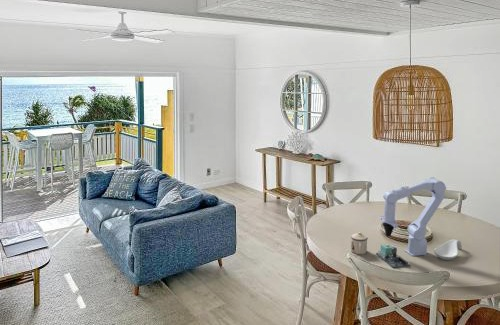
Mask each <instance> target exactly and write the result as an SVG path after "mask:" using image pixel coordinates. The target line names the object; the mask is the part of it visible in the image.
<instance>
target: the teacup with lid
mask: <svg viewBox="0 0 500 325" xmlns="http://www.w3.org/2000/svg"><path fill="white" fill-rule="evenodd" d="M350 238H351V242H350V243H351V245H350V251H351V253H352V254H356V255H365V254H366V253H368V252H367V250H368V239H369V238H368V236H367V235H366V234H363V233H362V231H358V232H356V233H353V234H352V235H351V236H350Z"/></svg>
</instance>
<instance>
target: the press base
mask: <svg viewBox="0 0 500 325" xmlns="http://www.w3.org/2000/svg"><path fill="white" fill-rule="evenodd" d="M375 255H376V256H377V257H378V258H380V259H381V260H382V261H383V262H384V263H386V264H387V265H389V267H391V268H392V269H395V268H404V267H405V268H406V267H411V264H410V263H409V262H408V261H407V260H406V259H404V258H403V257H402V256H400V255H398V254H397V256H399V260H396V261H394V260H392V259H391V258H390V257H389V258H388V256H389V255H384V254H383V253H382V252H381V250H378V251H377V252H376V253H375Z"/></svg>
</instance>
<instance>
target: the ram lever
mask: <svg viewBox="0 0 500 325" xmlns="http://www.w3.org/2000/svg"><path fill="white" fill-rule="evenodd" d="M397 248H398V247H394V246H393V247H392V253H388V255H389V256H388V258H389V257H390V258H391V259H392V260H394V261H396V260H399V256H400V255H398V254H397V253H398V252H397V251H398V249H397ZM397 255H398V256H397Z"/></svg>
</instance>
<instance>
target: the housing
mask: <svg viewBox="0 0 500 325" xmlns="http://www.w3.org/2000/svg"><path fill="white" fill-rule="evenodd" d="M392 247H394V246H393V245H391V244H390V243H385V244H380V251H381V252H382V253H383V254H384V255H388V253H392Z"/></svg>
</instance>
